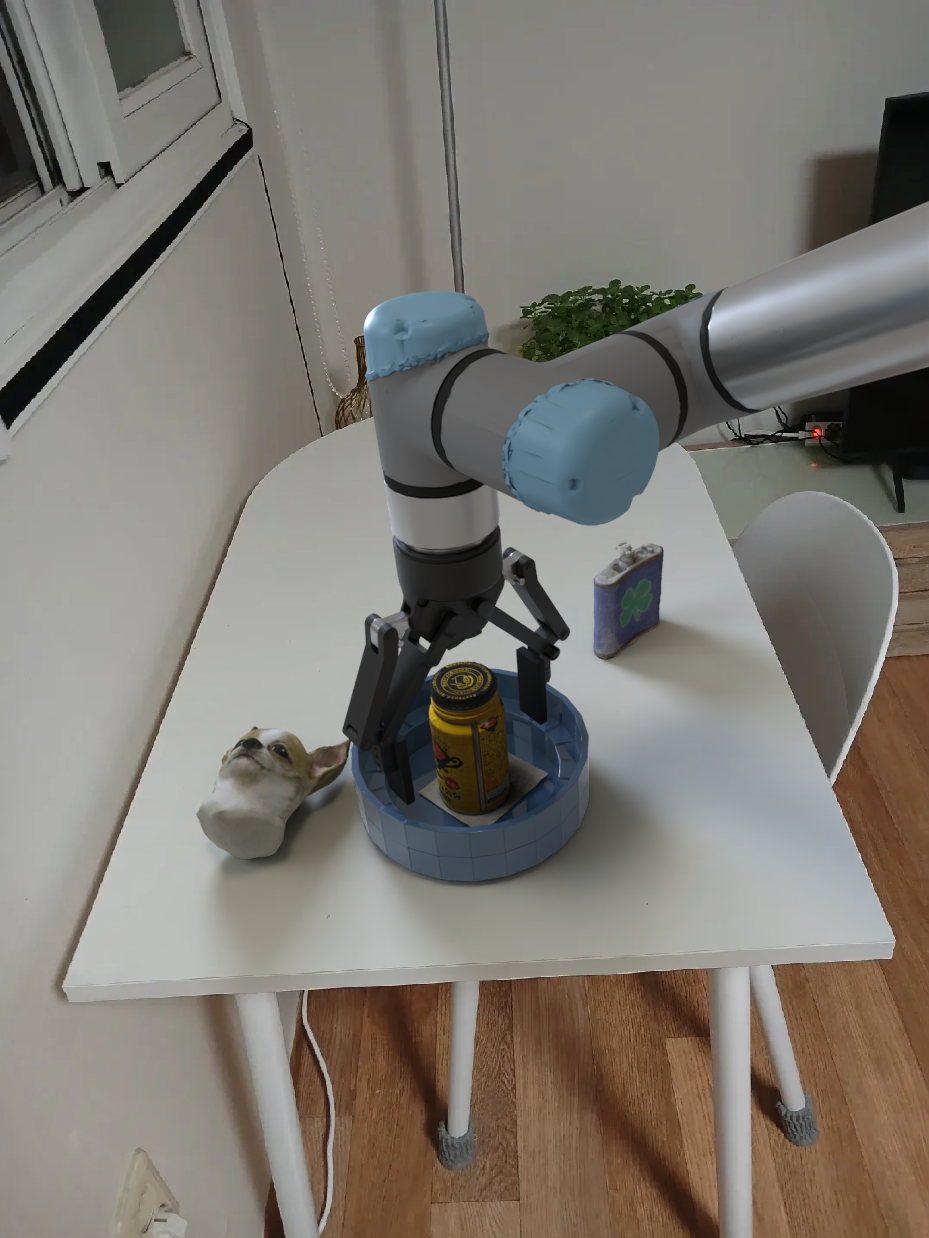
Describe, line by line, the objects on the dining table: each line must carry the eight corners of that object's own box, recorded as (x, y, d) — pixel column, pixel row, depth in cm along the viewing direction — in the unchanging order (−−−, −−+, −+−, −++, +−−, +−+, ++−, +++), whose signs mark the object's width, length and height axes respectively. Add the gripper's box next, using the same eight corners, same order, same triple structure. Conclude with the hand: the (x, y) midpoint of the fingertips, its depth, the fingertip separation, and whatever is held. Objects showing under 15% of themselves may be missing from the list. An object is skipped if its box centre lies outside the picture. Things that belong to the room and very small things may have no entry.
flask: (607, 662, 93) (607, 571, 87) (584, 651, 95) (583, 560, 89) (666, 621, 98) (670, 531, 92) (643, 610, 100) (646, 522, 94)
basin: (637, 800, 78) (639, 747, 75) (451, 929, 70) (443, 876, 66) (492, 690, 91) (487, 640, 88) (320, 787, 83) (307, 736, 79)
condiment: (417, 793, 80) (400, 684, 73) (485, 739, 85) (475, 631, 78) (481, 835, 76) (469, 723, 69) (548, 776, 81) (543, 665, 74)
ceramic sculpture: (146, 788, 72) (237, 674, 84) (171, 870, 76) (254, 750, 88) (275, 809, 69) (350, 688, 81) (293, 892, 74) (361, 765, 86)
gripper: (546, 452, 74) (554, 666, 86) (259, 576, 62) (315, 802, 75) (614, 483, 69) (613, 706, 81) (316, 625, 57) (366, 859, 70)
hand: (470, 753), depth 78 cm, fingers open, 13 cm apart
